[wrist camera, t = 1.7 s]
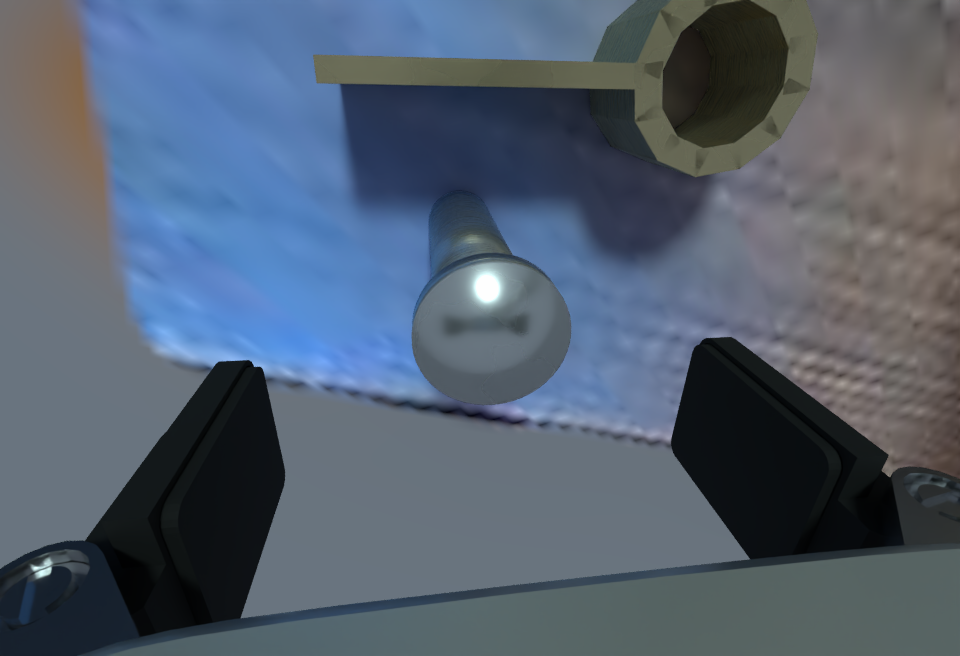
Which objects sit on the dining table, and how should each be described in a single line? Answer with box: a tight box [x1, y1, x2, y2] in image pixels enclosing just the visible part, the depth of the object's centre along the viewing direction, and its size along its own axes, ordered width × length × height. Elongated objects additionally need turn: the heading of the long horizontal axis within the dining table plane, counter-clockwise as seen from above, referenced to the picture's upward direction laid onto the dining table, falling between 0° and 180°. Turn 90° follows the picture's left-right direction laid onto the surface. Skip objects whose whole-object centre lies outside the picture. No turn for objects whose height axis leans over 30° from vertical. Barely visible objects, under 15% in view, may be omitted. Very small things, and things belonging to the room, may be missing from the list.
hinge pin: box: [412, 191, 571, 405], centre depth 18 cm, size 4×4×12 cm
